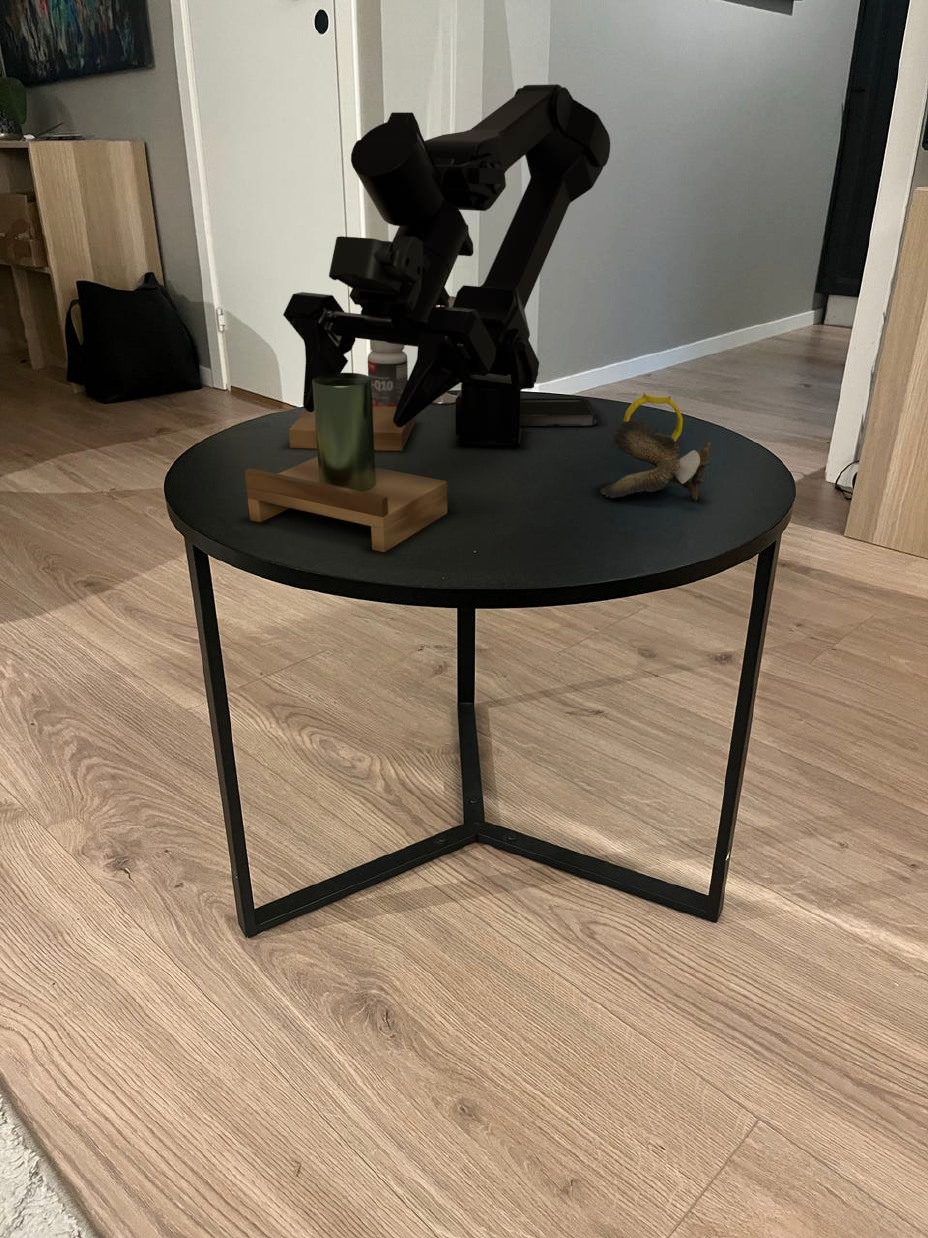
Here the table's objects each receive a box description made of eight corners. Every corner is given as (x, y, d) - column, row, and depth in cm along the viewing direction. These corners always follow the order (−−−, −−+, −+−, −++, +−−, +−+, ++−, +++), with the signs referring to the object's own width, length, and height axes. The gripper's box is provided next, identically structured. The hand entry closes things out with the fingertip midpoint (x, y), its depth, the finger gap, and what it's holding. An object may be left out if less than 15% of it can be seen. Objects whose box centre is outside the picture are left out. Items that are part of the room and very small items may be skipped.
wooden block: (414, 424, 109) (414, 407, 108) (402, 451, 100) (401, 432, 99) (310, 421, 109) (309, 404, 109) (289, 447, 101) (288, 429, 100)
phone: (464, 398, 114) (588, 398, 114) (464, 408, 115) (588, 407, 115) (465, 416, 107) (598, 415, 107) (465, 426, 108) (598, 425, 108)
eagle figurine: (700, 469, 91) (609, 446, 92) (721, 420, 85) (623, 396, 86) (687, 532, 88) (592, 508, 89) (708, 487, 81) (605, 461, 82)
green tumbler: (379, 475, 84) (375, 372, 80) (370, 494, 79) (365, 386, 75) (326, 474, 84) (319, 371, 80) (314, 492, 80) (306, 385, 76)
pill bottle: (361, 409, 114) (358, 338, 110) (383, 400, 118) (381, 331, 114) (394, 414, 112) (392, 342, 108) (415, 405, 116) (414, 335, 112)
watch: (623, 453, 99) (628, 396, 97) (619, 445, 102) (624, 389, 99) (680, 453, 99) (687, 396, 97) (675, 445, 102) (682, 390, 99)
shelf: (320, 486, 90) (317, 440, 88) (447, 513, 84) (447, 464, 82) (249, 520, 82) (244, 470, 80) (384, 552, 76) (382, 499, 74)
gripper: (288, 191, 80) (211, 347, 77) (481, 200, 72) (406, 375, 69) (347, 279, 90) (282, 420, 87) (524, 295, 82) (459, 452, 79)
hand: (350, 416), depth 80 cm, fingers open, 9 cm apart
